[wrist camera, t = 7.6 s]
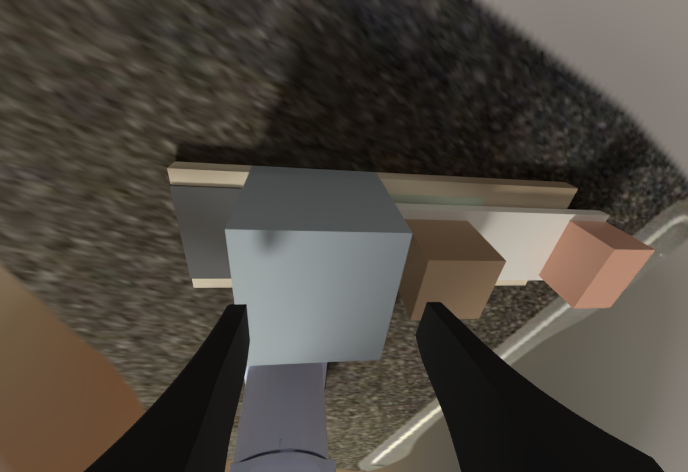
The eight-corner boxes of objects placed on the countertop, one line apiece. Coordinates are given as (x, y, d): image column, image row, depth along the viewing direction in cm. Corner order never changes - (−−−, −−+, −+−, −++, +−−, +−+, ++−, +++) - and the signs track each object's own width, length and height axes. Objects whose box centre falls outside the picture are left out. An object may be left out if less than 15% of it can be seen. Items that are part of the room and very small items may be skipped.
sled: (561, 273, 25) (617, 322, 21) (364, 273, 22) (380, 329, 18) (600, 210, 22) (676, 251, 17) (377, 202, 19) (399, 248, 15)
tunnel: (359, 276, 24) (380, 359, 18) (259, 276, 23) (243, 366, 17) (376, 172, 20) (412, 233, 13) (251, 165, 19) (224, 229, 12)
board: (516, 276, 27) (526, 286, 25) (198, 277, 23) (193, 289, 21) (565, 182, 22) (580, 189, 21) (174, 161, 18) (165, 169, 17)
